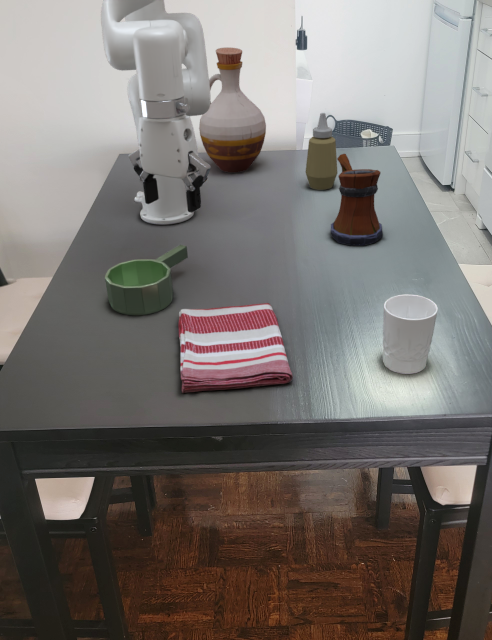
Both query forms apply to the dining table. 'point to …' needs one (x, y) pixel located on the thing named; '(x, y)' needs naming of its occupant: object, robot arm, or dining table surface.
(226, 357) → the dish towel
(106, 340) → the dining table surface
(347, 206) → the mug
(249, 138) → the jug
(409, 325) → the white cup
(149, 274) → the green saucepan
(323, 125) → the squeeze bottle
